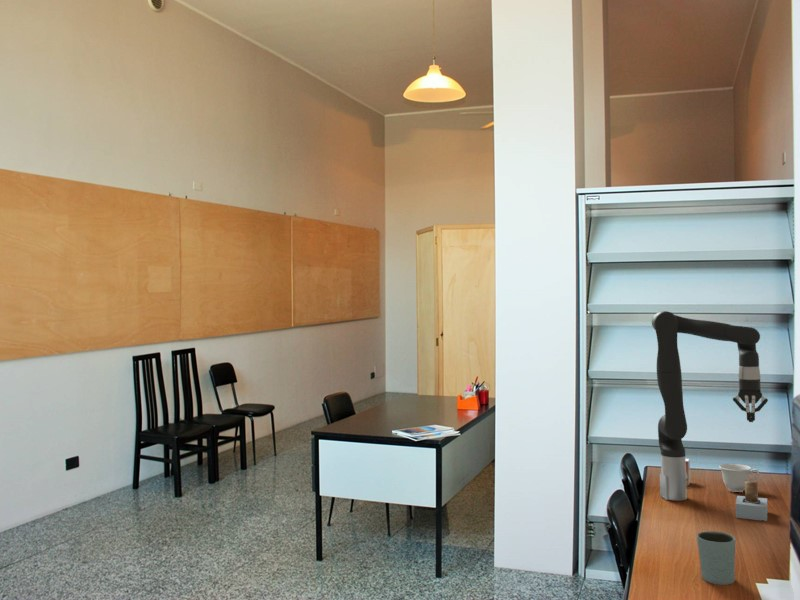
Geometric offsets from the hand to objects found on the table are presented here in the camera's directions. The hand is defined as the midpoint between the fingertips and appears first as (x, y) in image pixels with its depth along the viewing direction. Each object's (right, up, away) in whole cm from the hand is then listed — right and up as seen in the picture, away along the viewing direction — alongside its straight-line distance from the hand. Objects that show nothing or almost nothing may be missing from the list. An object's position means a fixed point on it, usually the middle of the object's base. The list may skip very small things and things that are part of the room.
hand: (750, 421), depth 272 cm
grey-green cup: (-48, -32, -75) cm, 94 cm away
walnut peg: (-8, -31, -18) cm, 37 cm away
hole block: (-9, -31, -18) cm, 37 cm away
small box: (-16, -32, +29) cm, 46 cm away
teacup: (+2, -31, +14) cm, 34 cm away
